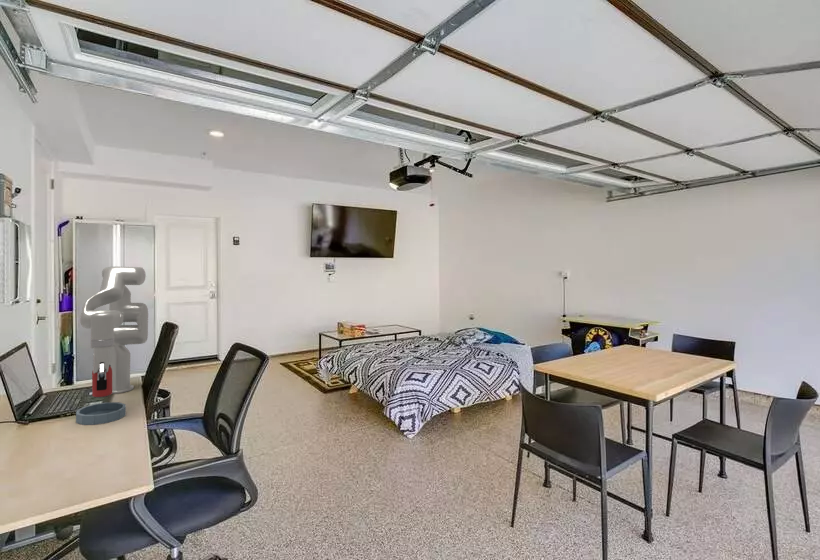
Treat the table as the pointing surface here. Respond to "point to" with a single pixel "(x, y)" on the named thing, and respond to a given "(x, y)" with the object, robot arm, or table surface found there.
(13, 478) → the table surface
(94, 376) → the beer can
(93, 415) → the bowl
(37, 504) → the table surface
